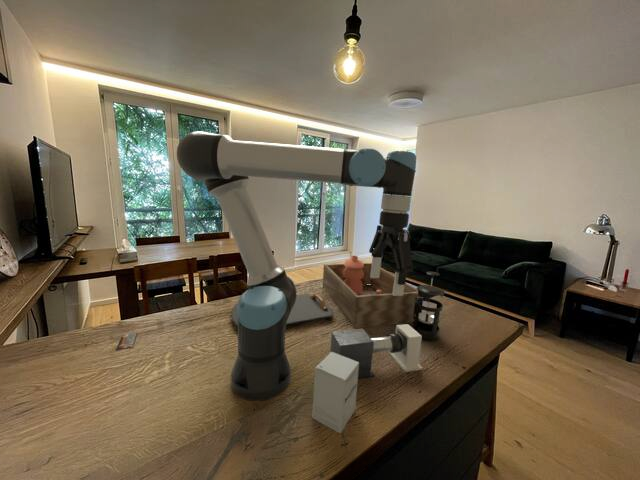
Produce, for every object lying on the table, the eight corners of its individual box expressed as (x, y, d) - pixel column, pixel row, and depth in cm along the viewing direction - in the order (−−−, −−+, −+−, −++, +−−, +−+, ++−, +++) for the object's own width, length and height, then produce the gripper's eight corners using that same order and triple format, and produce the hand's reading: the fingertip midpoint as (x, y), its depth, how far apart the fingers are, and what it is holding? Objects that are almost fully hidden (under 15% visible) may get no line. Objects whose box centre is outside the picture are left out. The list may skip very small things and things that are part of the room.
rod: (362, 361, 74) (363, 343, 73) (354, 350, 79) (356, 333, 78) (413, 354, 79) (415, 337, 78) (403, 344, 84) (405, 328, 83)
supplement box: (341, 435, 56) (345, 381, 54) (311, 418, 60) (313, 366, 58) (356, 411, 62) (360, 361, 60) (328, 397, 66) (331, 350, 64)
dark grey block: (336, 382, 71) (338, 348, 69) (326, 361, 80) (328, 330, 78) (374, 376, 74) (377, 343, 72) (361, 357, 83) (363, 326, 81)
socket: (405, 372, 77) (409, 339, 75) (389, 353, 85) (392, 323, 83) (422, 369, 78) (426, 337, 76) (404, 351, 87) (408, 322, 85)
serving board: (236, 340, 89) (236, 323, 88) (227, 311, 109) (226, 296, 108) (340, 320, 106) (341, 305, 105) (315, 298, 126) (315, 285, 125)
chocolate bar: (121, 335, 89) (121, 332, 89) (139, 332, 91) (139, 330, 91) (113, 353, 79) (113, 351, 79) (133, 350, 81) (133, 347, 81)
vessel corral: (353, 327, 100) (356, 297, 98) (322, 287, 139) (323, 264, 137) (418, 321, 107) (422, 292, 105) (371, 284, 146) (373, 263, 144)
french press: (446, 340, 94) (455, 277, 90) (423, 344, 92) (431, 278, 87) (424, 324, 105) (432, 266, 101) (403, 326, 103) (410, 267, 98)
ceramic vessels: (414, 317, 111) (419, 273, 107) (372, 327, 101) (376, 278, 98) (363, 287, 141) (366, 252, 138) (327, 293, 132) (329, 255, 128)
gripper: (436, 218, 63) (423, 303, 67) (385, 207, 87) (377, 271, 91) (408, 216, 61) (395, 305, 65) (363, 206, 85) (356, 272, 89)
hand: (385, 285), depth 78 cm, fingers open, 13 cm apart
